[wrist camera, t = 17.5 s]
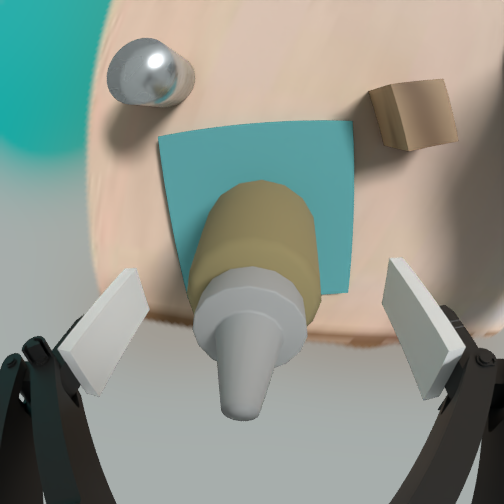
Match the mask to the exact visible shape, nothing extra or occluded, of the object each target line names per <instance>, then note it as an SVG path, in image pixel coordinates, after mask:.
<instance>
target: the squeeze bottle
mask: <svg viewBox="0 0 504 504" xmlns="http://www.w3.org/2000/svg"><path fill="white" fill-rule="evenodd" d="M187 296H188V299H189V302H190V304H191V307H192V310H193V313H194V321H193V332H194V335H195V337H196V340H197V342H198V345H199V346H200V347H201V348H202V349H203V350H204V351H205V352H206V353H207V354H208V355H209V356H210V357H211V358H212V359H213V360H215V361H217V366H218V379H219V391H220V402H221V411H222V413H223V414H224V415H225V416H226V417H228V418H230V419H233V420H238V421H249V420H253V419H255V418H257V417H258V415H259V413H260V410H261V408H262V404H263V402H264V399H265V395H266V393H267V389H268V386H269V383H270V380H271V377H272V374H273V371H274V368H275V367H278V366H280V365H283V364H286V363H287V362H289V361H290V360H291V359H292V358H293V357H294V356H296V355H297V354H298V353H299V352H300V351H301V349H302V347H303V345H304V343H305V341H306V338H307V326H308V325H309V324H310V323H311V322H312V321H313V319H314V317H315V315H316V312H317V310H318V308H319V305H320V303H321V286H320V273H319V262H318V252H317V243H316V234H315V225H314V217H313V215H312V214H311V212H310V210H309V208H308V207H307V205H306V203H305V201H304V200H303V198H301V197H300V196H299V195H297V194H296V193H295V192H293V191H292V190H291V189H289V188H288V187H286V186H285V185H282V184H278V183H274V182H269V181H265V180H257V181H251V182H245V183H239V184H238V185H236V186H235V187H233V188H231V189H230V190H228V191H227V192H225V193H223V194H222V195H221V196H220V197H219V198H218V200H217V201H216V203H215V204H214V206H213V207H212V209H211V210H210V212H209V214H208V217H207V220H206V223H205V226H204V229H203V232H202V235H201V237H200V240H199V243H198V246H197V250H196V253H195V256H194V259H193V262H192V265H191V268H190V271H189V279H188V287H187Z"/></svg>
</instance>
